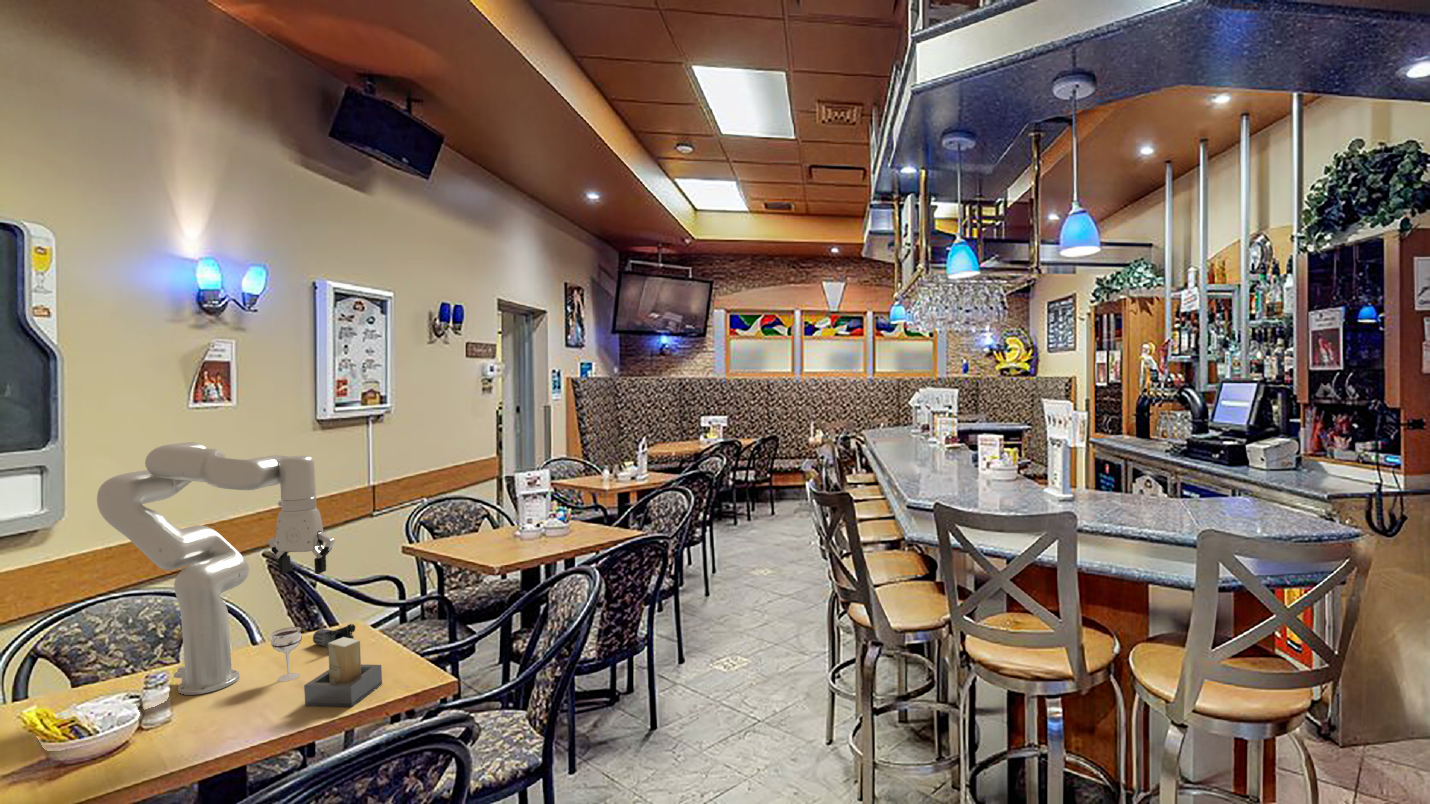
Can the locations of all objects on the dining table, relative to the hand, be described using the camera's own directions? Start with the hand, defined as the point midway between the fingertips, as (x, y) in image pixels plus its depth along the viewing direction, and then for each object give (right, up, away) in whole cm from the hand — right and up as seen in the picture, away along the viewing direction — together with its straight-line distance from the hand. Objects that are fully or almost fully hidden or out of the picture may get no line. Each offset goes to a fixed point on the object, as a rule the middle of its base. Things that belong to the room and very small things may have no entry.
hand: (302, 572), depth 172 cm
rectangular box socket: (+14, -28, -7) cm, 32 cm away
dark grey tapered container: (-7, -28, +25) cm, 38 cm away
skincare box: (+14, -27, -7) cm, 32 cm away
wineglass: (-7, -29, +5) cm, 30 cm away
